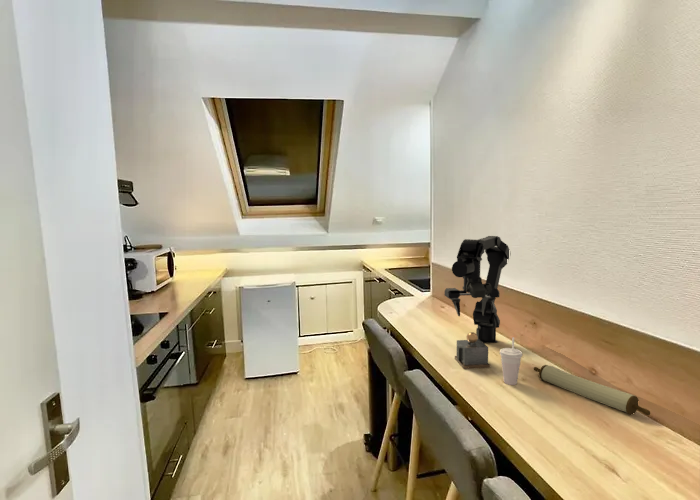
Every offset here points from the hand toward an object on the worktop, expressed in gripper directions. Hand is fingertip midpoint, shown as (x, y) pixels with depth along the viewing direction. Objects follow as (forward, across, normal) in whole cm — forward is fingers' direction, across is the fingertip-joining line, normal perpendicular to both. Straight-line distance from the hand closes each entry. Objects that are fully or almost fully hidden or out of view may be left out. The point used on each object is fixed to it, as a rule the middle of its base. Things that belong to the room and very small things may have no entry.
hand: (471, 315), depth 149 cm
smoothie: (+14, +2, -28) cm, 31 cm away
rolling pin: (+14, +19, -38) cm, 45 cm away
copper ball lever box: (+13, -4, -12) cm, 18 cm away
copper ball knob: (+12, -4, -12) cm, 17 cm away
